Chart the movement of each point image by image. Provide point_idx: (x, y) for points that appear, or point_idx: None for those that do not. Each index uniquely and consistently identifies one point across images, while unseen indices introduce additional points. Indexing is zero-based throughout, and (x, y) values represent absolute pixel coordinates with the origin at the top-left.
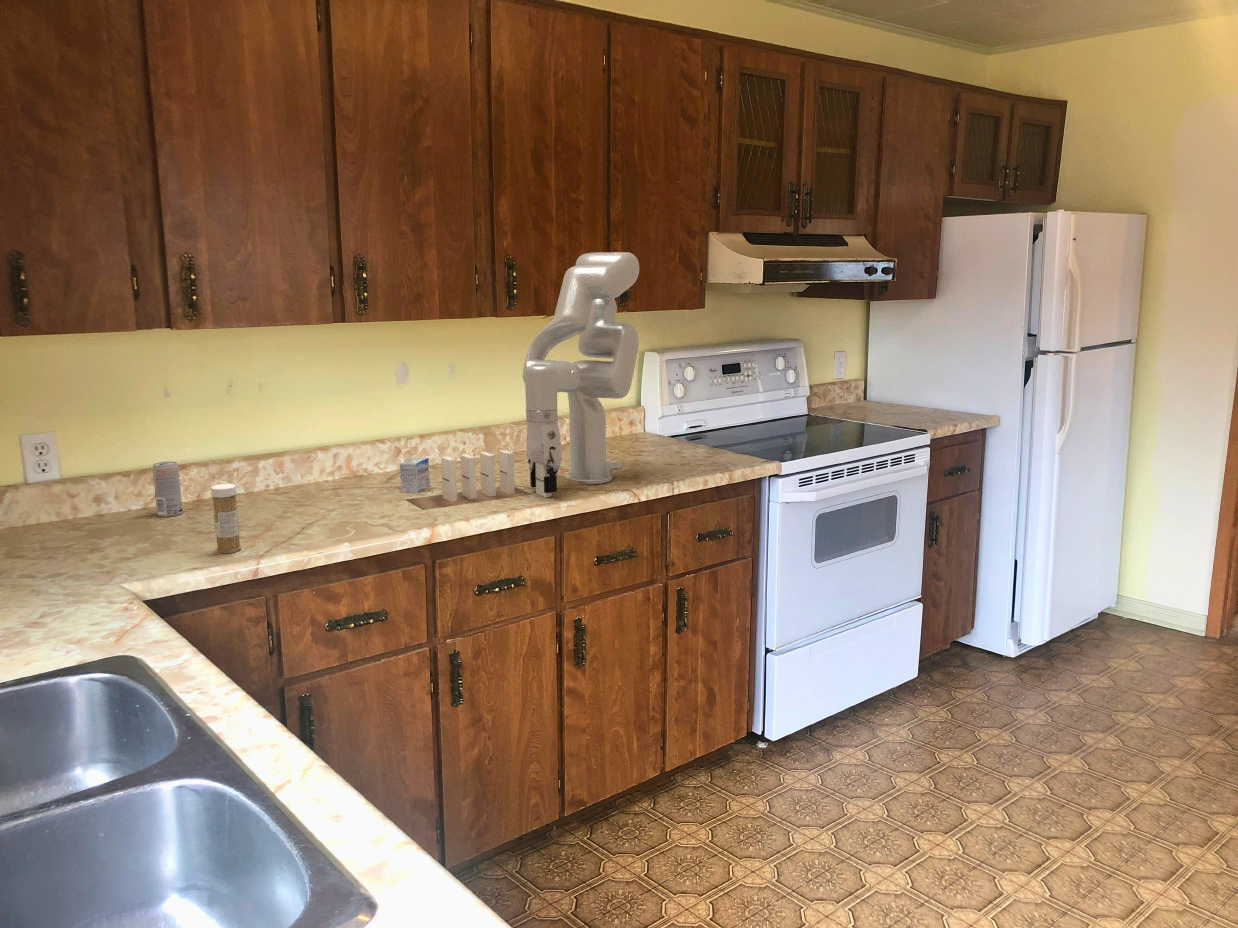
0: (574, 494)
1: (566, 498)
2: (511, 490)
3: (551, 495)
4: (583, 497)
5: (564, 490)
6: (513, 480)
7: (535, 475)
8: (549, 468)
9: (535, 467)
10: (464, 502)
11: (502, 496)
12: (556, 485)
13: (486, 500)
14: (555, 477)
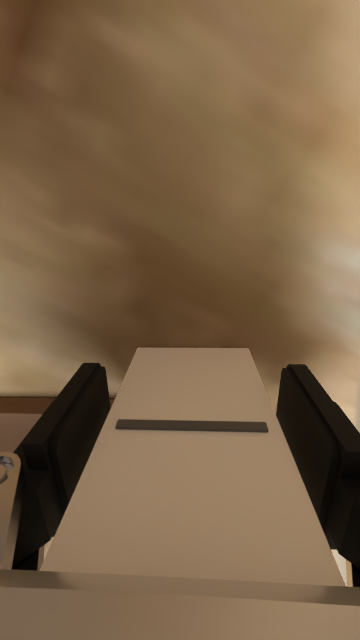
0: (171, 139)
1: (241, 247)
2: None
3: (254, 363)
4: (290, 125)
5: (26, 144)
6: (51, 540)
7: (81, 474)
8: (329, 574)
9: (23, 538)
10: None
11: None
12: (321, 387)
13: None
14: (356, 446)
